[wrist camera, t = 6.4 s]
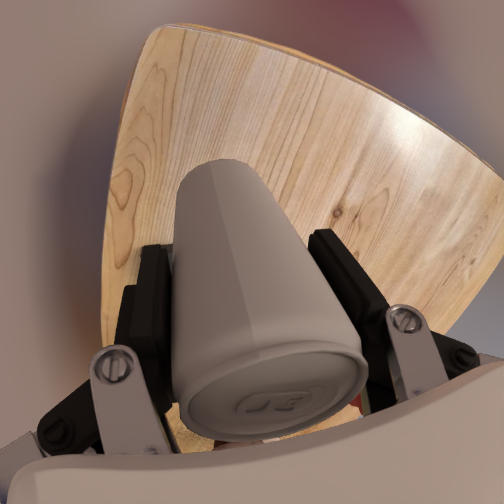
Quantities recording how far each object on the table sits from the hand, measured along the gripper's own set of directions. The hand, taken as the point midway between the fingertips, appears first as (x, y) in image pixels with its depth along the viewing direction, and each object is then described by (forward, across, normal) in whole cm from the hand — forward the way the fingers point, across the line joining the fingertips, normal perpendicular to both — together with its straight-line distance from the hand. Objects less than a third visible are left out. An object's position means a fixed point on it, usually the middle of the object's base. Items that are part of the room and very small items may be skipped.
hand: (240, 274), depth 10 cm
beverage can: (+7, 0, 0) cm, 7 cm away
